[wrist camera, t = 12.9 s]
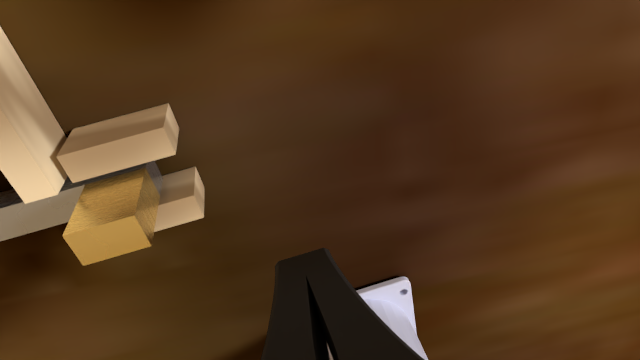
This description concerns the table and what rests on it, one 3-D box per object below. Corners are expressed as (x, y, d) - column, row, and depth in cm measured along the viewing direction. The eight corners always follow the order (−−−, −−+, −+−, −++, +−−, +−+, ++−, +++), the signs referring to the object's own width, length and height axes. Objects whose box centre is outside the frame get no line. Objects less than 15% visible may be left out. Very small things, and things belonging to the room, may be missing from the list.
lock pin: (162, 178, 19) (151, 245, 15) (-95, 250, 19) (-174, 340, 15) (149, 151, 18) (134, 215, 15) (-120, 225, 18) (-210, 314, 14)
